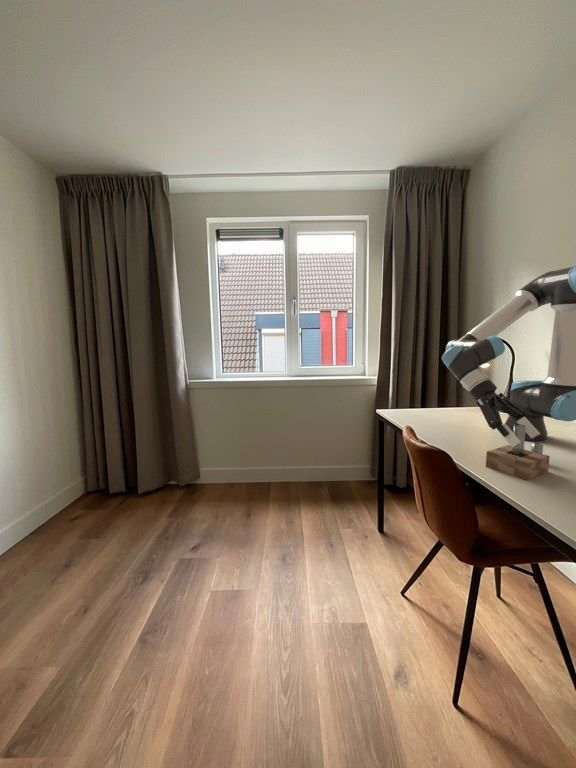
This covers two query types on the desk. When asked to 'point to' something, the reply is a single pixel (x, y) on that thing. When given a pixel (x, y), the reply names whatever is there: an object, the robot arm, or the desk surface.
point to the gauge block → (517, 462)
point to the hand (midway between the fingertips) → (526, 440)
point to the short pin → (537, 448)
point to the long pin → (520, 434)
